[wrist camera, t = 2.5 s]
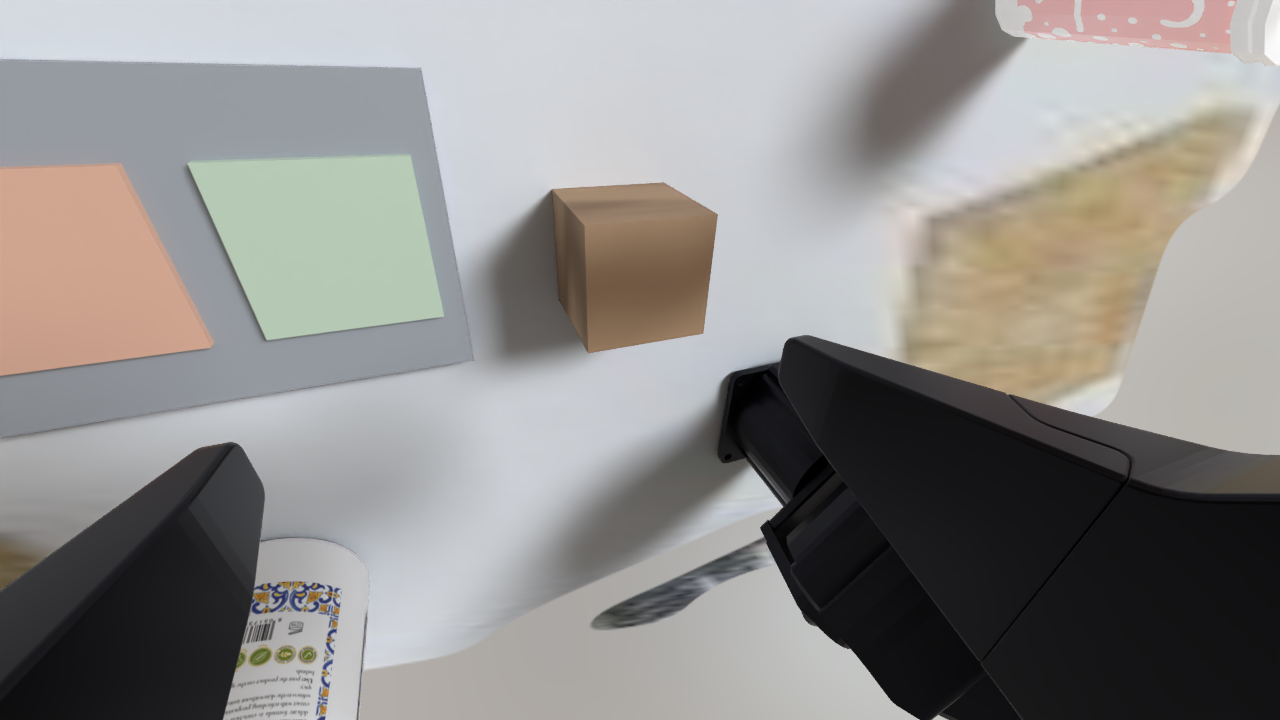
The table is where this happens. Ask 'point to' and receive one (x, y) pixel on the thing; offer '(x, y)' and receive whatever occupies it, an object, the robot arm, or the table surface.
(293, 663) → the bath foam
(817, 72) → the table surface
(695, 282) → the walnut block
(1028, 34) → the beverage cup
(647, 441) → the table surface
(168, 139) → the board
